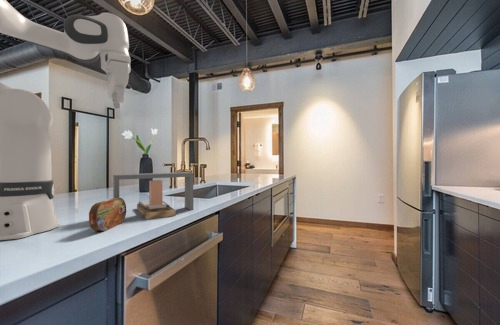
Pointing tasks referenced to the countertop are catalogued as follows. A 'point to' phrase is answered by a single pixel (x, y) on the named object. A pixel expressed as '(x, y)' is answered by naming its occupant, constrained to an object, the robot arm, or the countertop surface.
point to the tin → (107, 214)
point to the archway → (187, 176)
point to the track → (155, 211)
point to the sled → (155, 195)
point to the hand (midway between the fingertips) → (118, 105)
